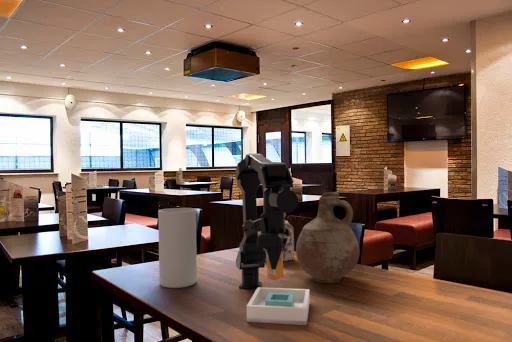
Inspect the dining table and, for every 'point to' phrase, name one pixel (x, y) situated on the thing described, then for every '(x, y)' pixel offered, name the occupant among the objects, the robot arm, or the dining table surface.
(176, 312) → the dining table surface
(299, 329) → the dining table surface
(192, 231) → the cylinder vase
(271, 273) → the supplement box
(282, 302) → the walled tray
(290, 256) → the decorative jar
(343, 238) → the jug
